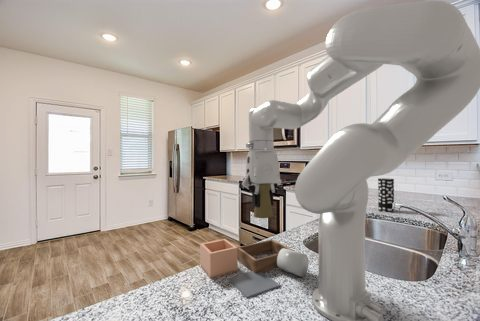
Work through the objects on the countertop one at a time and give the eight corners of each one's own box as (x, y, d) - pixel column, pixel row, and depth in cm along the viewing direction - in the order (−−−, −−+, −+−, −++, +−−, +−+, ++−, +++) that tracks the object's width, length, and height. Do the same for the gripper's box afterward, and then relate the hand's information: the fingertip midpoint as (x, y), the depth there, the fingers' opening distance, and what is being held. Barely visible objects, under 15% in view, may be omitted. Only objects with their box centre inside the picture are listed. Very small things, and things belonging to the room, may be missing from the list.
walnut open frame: (294, 263, 71) (293, 250, 71) (255, 274, 64) (255, 260, 64) (271, 250, 82) (271, 239, 82) (236, 259, 75) (236, 247, 75)
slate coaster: (279, 286, 58) (279, 285, 58) (246, 298, 53) (246, 296, 53) (258, 270, 67) (258, 268, 67) (228, 279, 62) (228, 277, 62)
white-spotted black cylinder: (381, 208, 146) (380, 178, 146) (396, 210, 140) (395, 178, 140) (376, 210, 141) (376, 179, 141) (391, 213, 135) (391, 179, 135)
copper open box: (237, 271, 67) (237, 247, 67) (210, 278, 63) (210, 253, 63) (225, 260, 74) (225, 238, 74) (200, 266, 70) (200, 243, 70)
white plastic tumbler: (308, 272, 66) (308, 251, 66) (299, 280, 61) (298, 258, 61) (287, 264, 70) (287, 245, 70) (277, 272, 66) (276, 251, 66)
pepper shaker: (250, 217, 69) (249, 181, 69) (258, 213, 74) (257, 179, 74) (268, 219, 66) (267, 181, 66) (275, 214, 71) (274, 180, 71)
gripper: (243, 146, 63) (245, 211, 63) (290, 146, 71) (292, 204, 70) (232, 148, 70) (233, 206, 70) (276, 148, 77) (277, 201, 77)
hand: (263, 205), depth 70 cm, fingers closed on pepper shaker, 4 cm apart
